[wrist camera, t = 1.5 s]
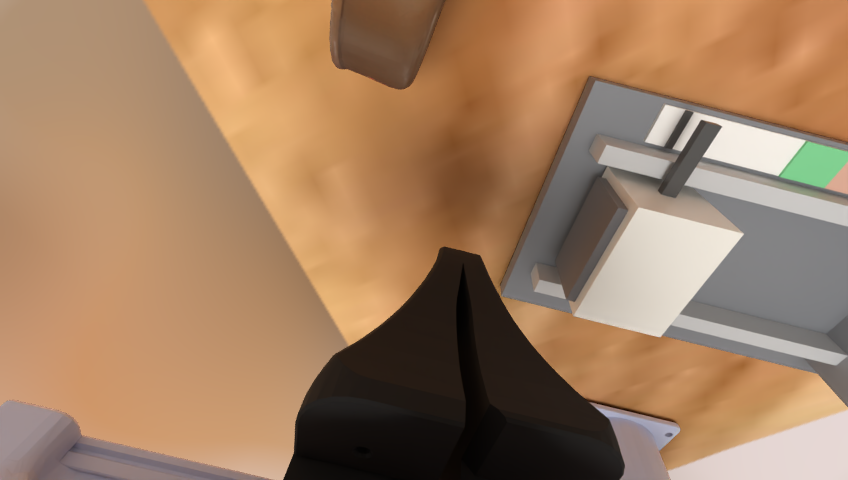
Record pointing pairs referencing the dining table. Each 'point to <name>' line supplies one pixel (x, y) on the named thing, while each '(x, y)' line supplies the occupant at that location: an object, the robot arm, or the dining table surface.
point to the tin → (383, 37)
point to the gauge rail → (735, 199)
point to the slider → (644, 244)
